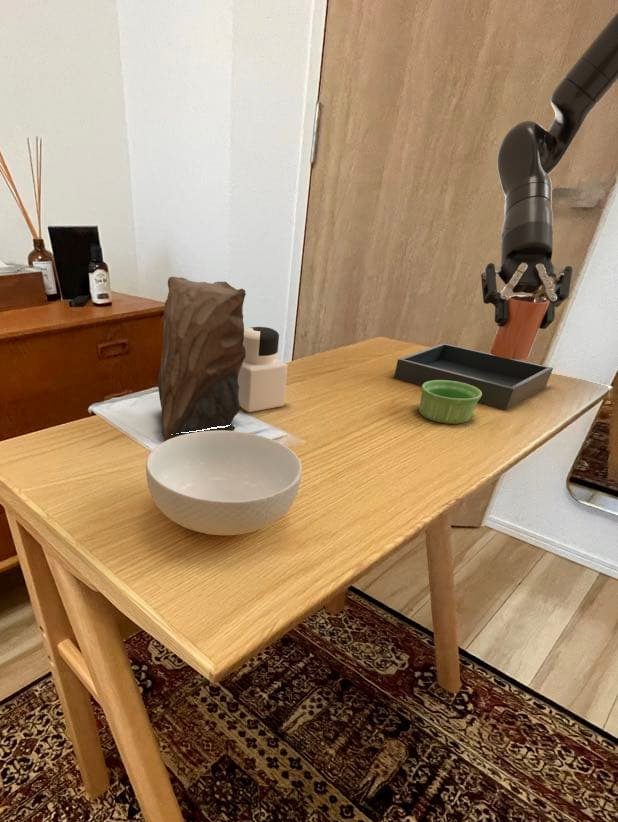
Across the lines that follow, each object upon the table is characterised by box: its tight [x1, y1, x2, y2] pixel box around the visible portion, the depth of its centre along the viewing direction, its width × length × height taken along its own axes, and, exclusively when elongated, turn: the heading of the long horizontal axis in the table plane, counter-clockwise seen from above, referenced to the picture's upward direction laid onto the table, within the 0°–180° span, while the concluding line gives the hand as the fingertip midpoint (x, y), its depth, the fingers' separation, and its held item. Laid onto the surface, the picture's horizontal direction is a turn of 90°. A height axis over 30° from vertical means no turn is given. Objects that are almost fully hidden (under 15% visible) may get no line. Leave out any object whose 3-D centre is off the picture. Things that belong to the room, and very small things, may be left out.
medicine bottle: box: [238, 326, 288, 413], centre depth 81 cm, size 7×7×12 cm
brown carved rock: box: [157, 276, 247, 442], centre depth 72 cm, size 13×13×20 cm
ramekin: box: [418, 380, 482, 425], centre depth 80 cm, size 9×9×4 cm
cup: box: [489, 295, 550, 361], centre depth 85 cm, size 6×6×9 cm
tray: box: [393, 342, 554, 411], centre depth 93 cm, size 18×22×4 cm
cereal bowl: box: [145, 430, 303, 536], centre depth 55 cm, size 17×17×7 cm
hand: (524, 324), depth 83 cm, fingers closed on cup, 6 cm apart
